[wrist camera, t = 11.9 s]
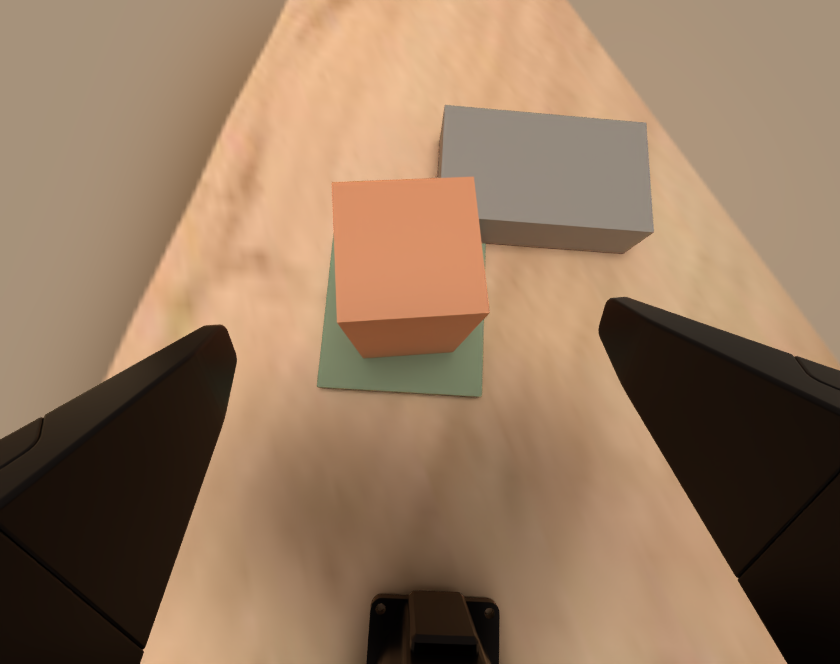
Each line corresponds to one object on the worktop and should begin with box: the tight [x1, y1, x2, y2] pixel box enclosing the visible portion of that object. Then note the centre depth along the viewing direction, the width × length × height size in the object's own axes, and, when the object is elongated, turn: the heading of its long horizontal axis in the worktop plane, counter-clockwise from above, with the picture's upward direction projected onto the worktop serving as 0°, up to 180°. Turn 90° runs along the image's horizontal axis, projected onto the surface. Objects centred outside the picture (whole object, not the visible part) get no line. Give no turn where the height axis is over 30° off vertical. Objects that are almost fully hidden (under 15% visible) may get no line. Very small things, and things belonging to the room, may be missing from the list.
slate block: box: [438, 105, 654, 254], centre depth 23 cm, size 7×12×3 cm, turn 87°
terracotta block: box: [332, 177, 490, 358], centre depth 17 cm, size 5×5×9 cm
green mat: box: [317, 234, 486, 397], centre depth 22 cm, size 9×9×1 cm
